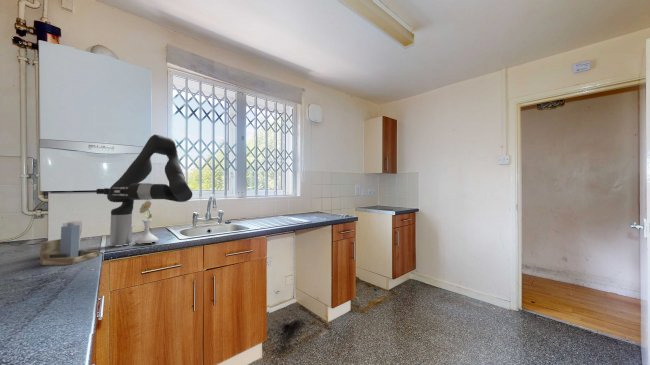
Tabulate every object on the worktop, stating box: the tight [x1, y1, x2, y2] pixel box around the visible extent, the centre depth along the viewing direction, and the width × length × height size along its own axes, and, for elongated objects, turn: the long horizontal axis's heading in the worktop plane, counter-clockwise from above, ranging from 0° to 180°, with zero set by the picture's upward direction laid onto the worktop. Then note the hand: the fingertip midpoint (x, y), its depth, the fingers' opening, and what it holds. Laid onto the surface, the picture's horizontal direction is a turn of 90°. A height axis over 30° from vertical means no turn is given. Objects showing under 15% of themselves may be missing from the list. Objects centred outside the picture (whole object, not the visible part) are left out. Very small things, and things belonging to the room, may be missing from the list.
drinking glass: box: [62, 220, 83, 250], centre depth 124 cm, size 7×7×15 cm
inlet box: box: [39, 238, 100, 266], centre depth 110 cm, size 14×12×9 cm
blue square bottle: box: [60, 221, 80, 258], centre depth 110 cm, size 4×4×16 cm
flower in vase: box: [134, 200, 159, 245], centre depth 146 cm, size 13×11×25 cm
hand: (104, 191), depth 113 cm, fingers open, 8 cm apart
